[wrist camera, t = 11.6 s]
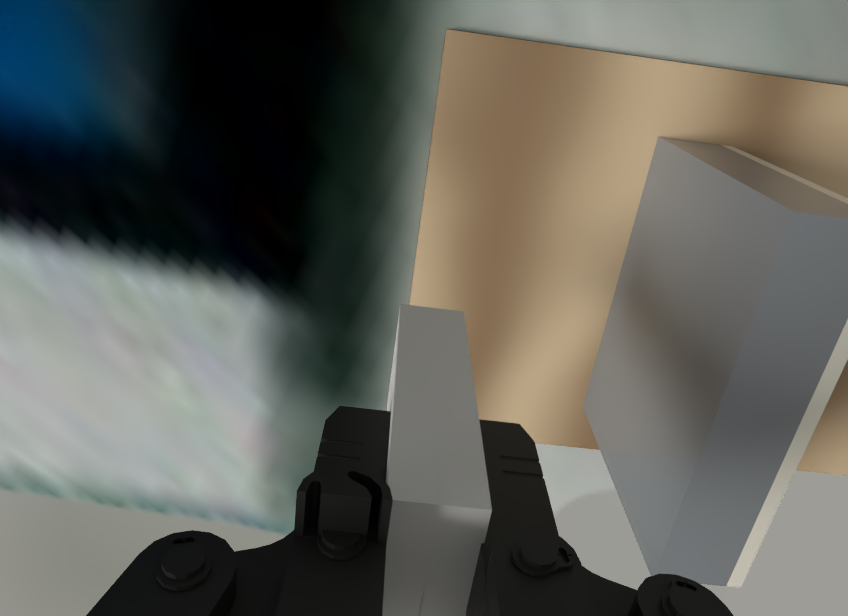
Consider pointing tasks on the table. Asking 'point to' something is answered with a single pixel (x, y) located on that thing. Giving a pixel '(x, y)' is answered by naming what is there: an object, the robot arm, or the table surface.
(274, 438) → the table surface
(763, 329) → the tile
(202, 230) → the table surface
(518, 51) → the mat
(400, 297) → the table surface
